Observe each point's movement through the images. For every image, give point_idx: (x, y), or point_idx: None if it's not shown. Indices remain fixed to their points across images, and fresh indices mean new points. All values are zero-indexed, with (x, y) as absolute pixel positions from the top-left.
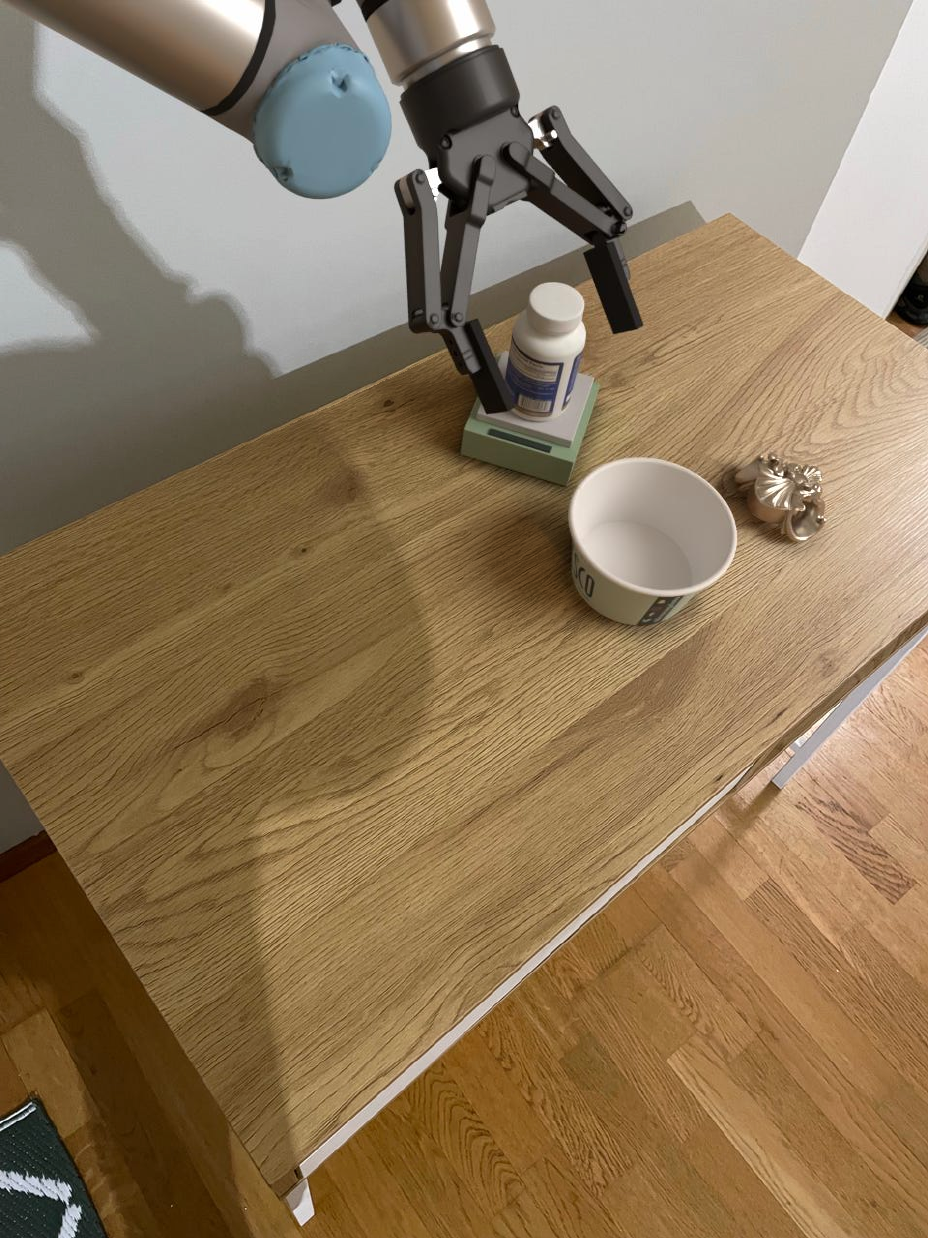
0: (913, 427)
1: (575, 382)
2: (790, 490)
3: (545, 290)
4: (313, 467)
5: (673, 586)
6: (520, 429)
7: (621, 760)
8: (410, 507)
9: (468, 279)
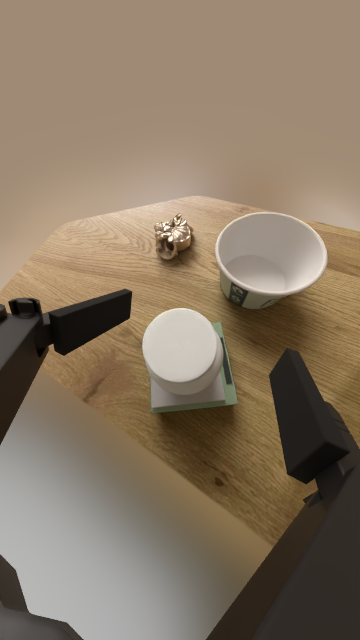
0: (105, 215)
1: None
2: (177, 227)
3: (167, 364)
4: None
5: (249, 261)
6: None
7: (346, 252)
8: None
9: (338, 536)
